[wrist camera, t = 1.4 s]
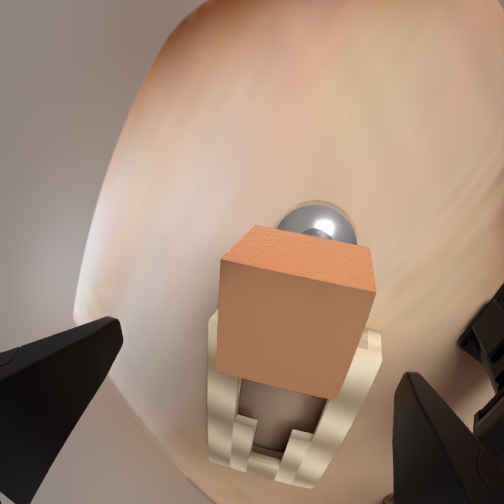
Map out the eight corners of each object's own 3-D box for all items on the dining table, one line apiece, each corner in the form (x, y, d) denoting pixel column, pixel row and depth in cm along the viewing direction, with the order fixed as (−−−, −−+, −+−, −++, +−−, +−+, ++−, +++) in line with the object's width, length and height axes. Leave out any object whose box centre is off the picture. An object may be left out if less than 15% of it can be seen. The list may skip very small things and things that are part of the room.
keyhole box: (227, 297, 24) (208, 320, 21) (380, 331, 21) (382, 360, 18) (219, 438, 31) (208, 460, 28) (318, 465, 28) (312, 488, 25)
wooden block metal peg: (363, 209, 19) (380, 289, 9) (347, 281, 21) (337, 402, 11) (284, 194, 20) (218, 255, 10) (274, 266, 22) (213, 371, 12)
